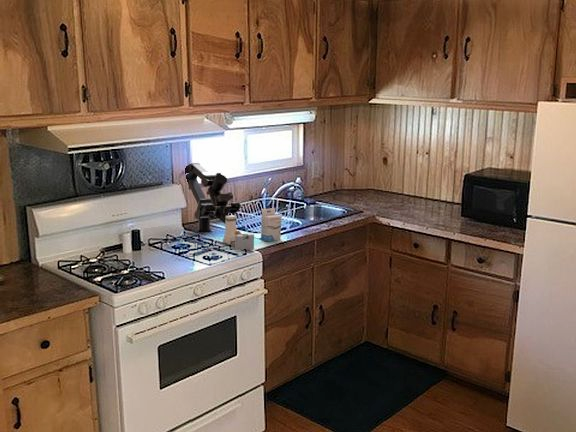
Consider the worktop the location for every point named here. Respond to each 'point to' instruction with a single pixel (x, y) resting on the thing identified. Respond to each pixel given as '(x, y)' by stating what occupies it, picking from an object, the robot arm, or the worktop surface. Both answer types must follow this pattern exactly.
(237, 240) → the gauge cabinet
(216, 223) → the worktop surface
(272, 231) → the ink box
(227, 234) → the cream bottle
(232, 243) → the steel rail
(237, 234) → the gauge plunger
